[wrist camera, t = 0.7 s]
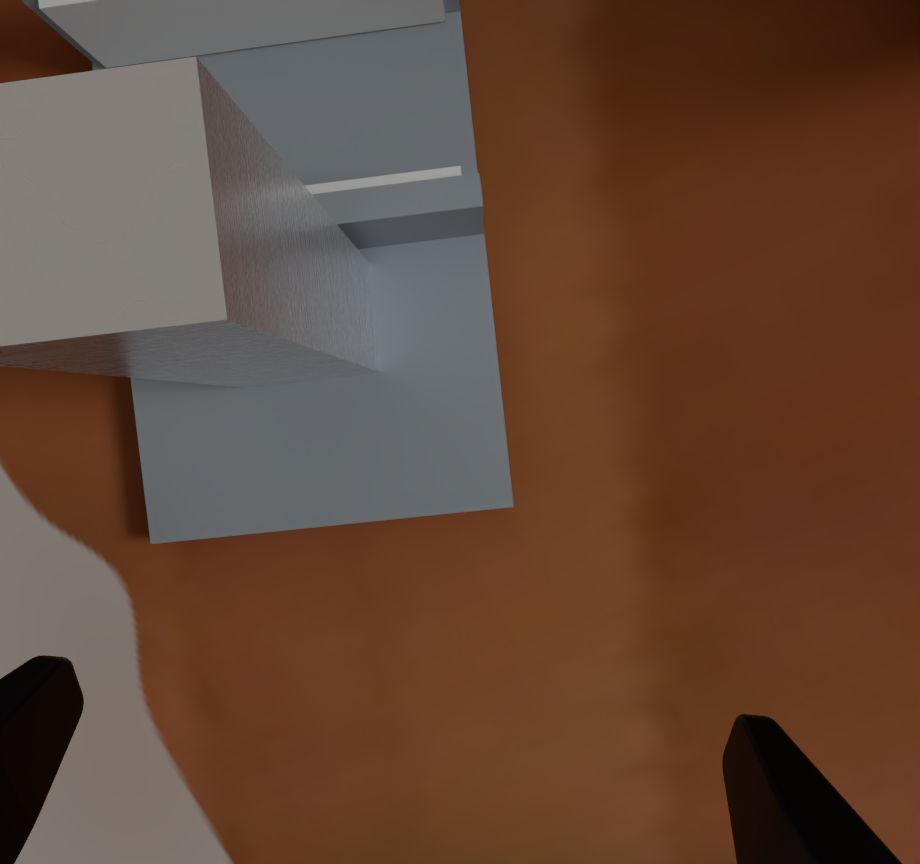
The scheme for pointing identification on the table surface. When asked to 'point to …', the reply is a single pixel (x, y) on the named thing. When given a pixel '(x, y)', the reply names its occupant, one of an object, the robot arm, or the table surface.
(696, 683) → the table surface
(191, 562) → the table surface
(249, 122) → the aluminium bar
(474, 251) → the vise
